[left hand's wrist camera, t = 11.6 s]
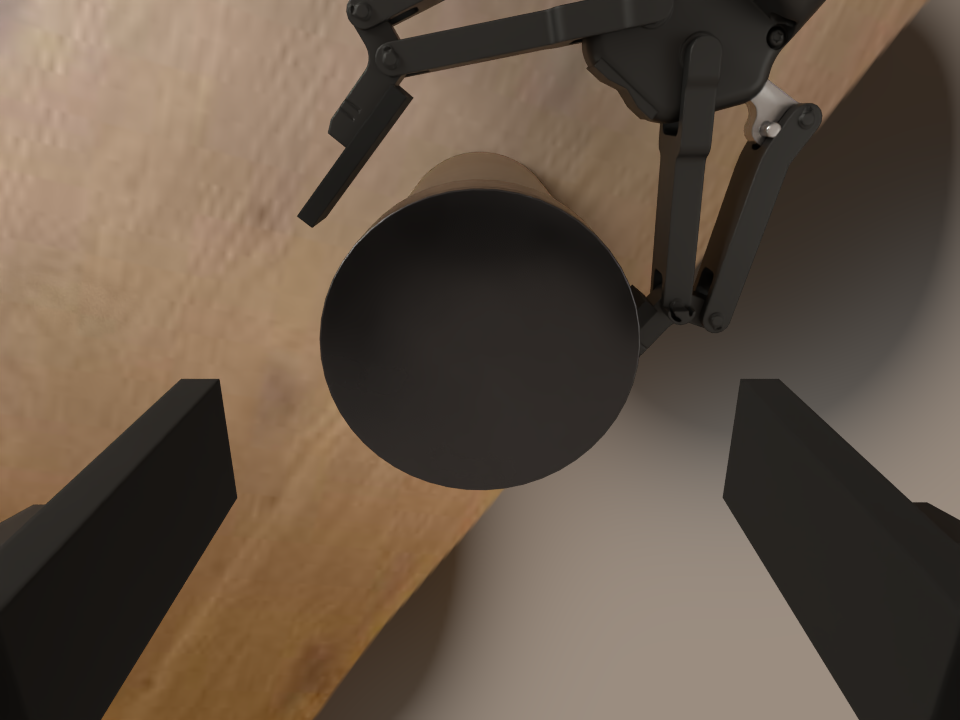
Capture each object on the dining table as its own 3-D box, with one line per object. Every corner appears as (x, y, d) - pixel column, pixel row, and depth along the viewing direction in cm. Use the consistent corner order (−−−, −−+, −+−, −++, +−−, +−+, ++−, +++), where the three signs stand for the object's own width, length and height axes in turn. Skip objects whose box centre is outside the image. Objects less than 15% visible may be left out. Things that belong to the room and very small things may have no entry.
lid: (579, 475, 22) (590, 515, 20) (317, 424, 22) (300, 459, 20) (662, 216, 19) (684, 230, 17) (360, 147, 19) (344, 153, 17)
